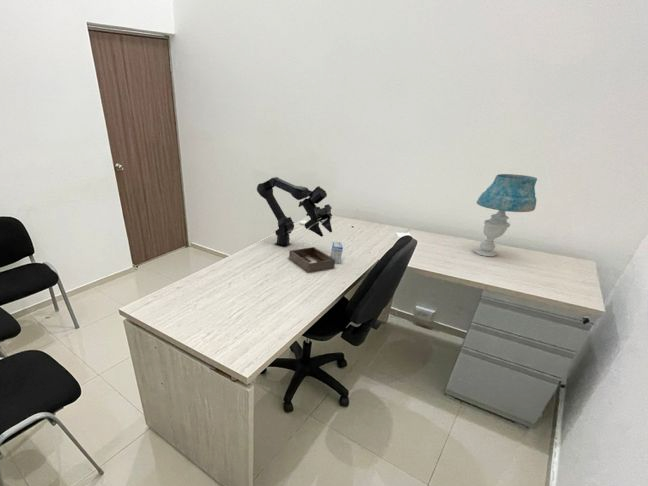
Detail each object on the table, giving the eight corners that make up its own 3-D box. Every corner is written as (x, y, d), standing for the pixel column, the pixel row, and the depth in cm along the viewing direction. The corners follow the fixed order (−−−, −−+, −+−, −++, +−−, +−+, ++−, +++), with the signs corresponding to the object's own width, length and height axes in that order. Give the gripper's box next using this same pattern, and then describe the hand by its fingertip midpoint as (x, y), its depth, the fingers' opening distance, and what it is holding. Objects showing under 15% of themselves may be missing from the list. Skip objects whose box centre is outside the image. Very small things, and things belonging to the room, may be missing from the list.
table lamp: (463, 258, 173) (494, 179, 153) (455, 243, 192) (481, 171, 173) (518, 264, 166) (557, 182, 146) (504, 248, 185) (537, 174, 165)
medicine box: (330, 256, 175) (332, 241, 171) (338, 257, 175) (341, 242, 170) (331, 262, 169) (334, 246, 164) (340, 263, 168) (343, 247, 164)
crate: (288, 258, 174) (289, 250, 171) (312, 254, 178) (313, 246, 176) (308, 272, 158) (309, 264, 156) (333, 268, 163) (335, 259, 161)
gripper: (312, 203, 159) (329, 230, 157) (331, 196, 170) (347, 221, 169) (297, 215, 167) (313, 241, 166) (316, 209, 179) (331, 233, 178)
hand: (327, 234), depth 170 cm, fingers open, 9 cm apart
